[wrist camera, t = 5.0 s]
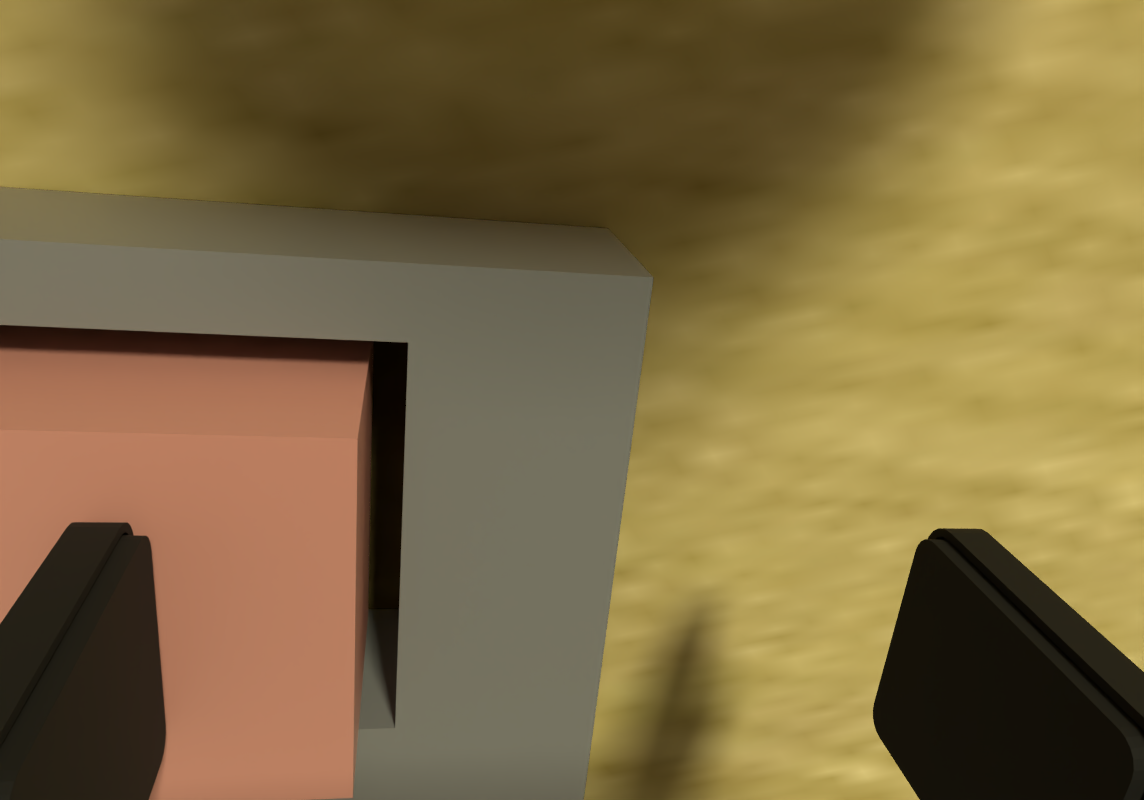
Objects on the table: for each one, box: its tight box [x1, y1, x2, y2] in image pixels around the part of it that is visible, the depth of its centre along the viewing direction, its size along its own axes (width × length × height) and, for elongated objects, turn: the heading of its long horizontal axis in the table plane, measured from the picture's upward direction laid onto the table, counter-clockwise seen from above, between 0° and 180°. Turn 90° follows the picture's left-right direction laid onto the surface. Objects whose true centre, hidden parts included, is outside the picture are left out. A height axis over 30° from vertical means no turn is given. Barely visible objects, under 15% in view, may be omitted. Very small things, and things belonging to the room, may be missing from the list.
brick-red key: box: [0, 325, 374, 800], centre depth 12 cm, size 5×5×4 cm
